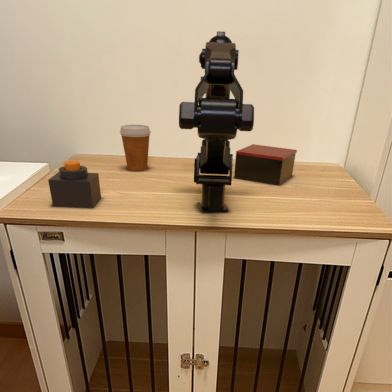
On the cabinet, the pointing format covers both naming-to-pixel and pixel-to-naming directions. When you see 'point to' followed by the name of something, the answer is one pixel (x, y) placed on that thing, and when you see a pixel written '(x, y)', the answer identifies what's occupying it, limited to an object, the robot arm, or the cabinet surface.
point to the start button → (72, 165)
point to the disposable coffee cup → (136, 146)
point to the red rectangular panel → (266, 152)
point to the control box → (75, 188)
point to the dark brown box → (263, 169)
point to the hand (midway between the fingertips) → (214, 138)
